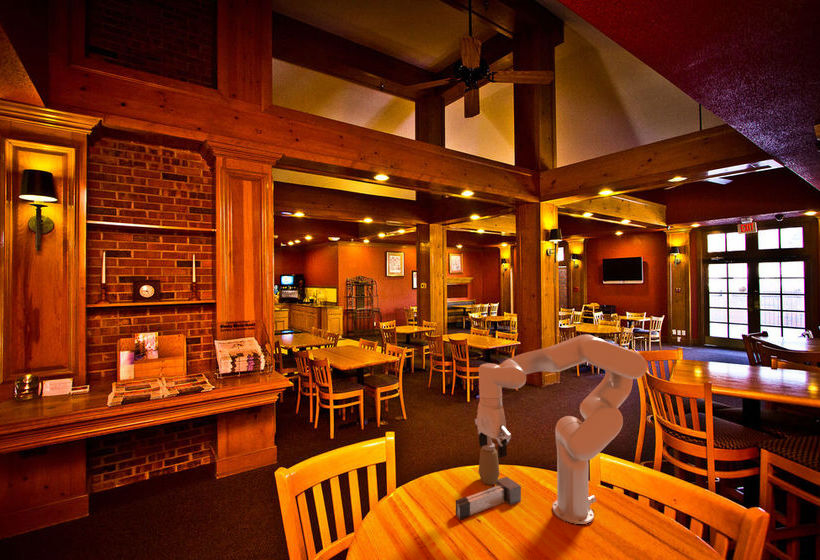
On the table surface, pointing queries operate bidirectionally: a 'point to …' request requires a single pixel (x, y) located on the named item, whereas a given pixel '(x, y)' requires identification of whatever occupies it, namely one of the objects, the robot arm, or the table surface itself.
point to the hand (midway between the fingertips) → (492, 450)
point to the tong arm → (480, 503)
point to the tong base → (510, 488)
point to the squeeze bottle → (489, 463)
